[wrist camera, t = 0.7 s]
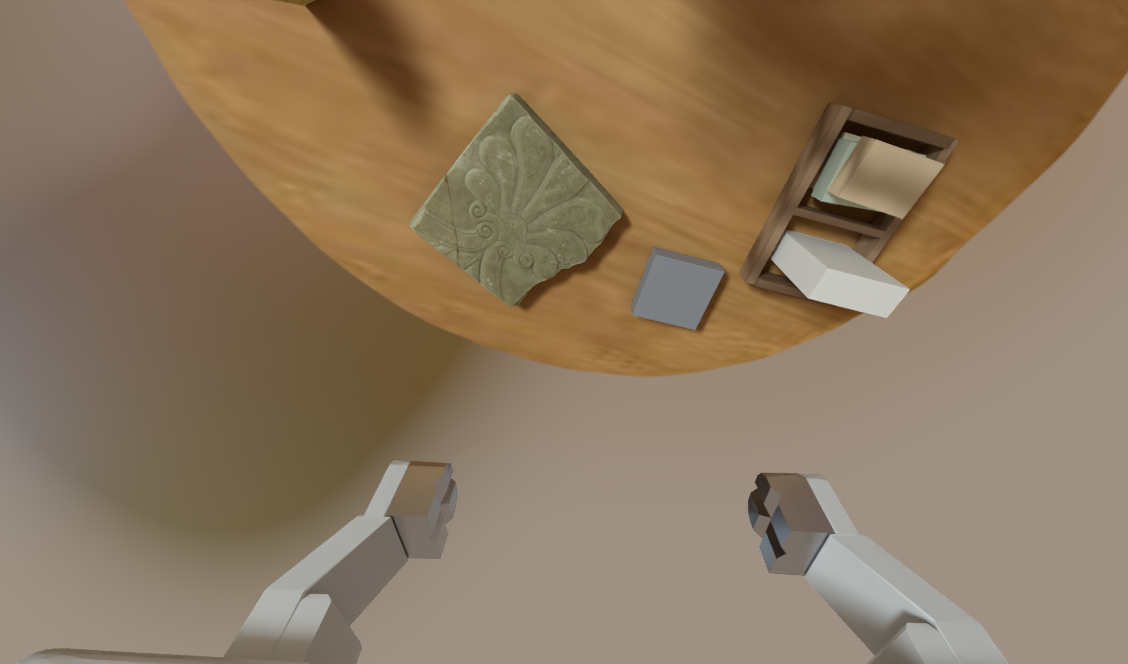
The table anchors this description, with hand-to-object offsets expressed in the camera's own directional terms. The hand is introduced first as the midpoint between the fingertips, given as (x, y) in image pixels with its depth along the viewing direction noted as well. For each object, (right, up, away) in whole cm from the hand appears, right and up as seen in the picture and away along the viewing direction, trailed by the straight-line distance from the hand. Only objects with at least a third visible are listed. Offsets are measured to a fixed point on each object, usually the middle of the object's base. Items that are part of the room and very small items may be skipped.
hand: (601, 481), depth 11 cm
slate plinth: (+14, +10, +44) cm, 47 cm away
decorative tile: (-7, +19, +40) cm, 45 cm away
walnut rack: (+31, +18, +38) cm, 52 cm away
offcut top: (+32, +20, +31) cm, 49 cm away
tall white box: (+29, +14, +40) cm, 52 cm away
